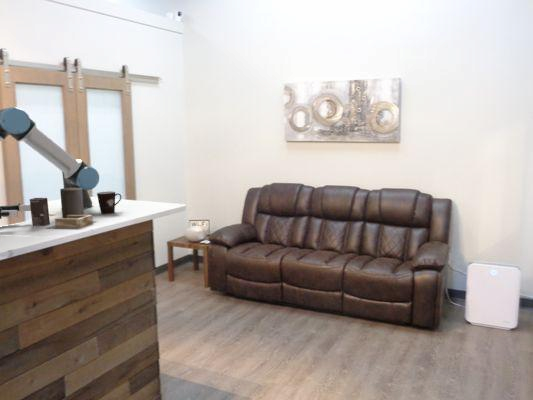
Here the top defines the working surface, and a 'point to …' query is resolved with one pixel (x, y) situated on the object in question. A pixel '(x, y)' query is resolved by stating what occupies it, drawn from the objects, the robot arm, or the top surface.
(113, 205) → the coffee mug
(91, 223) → the mat
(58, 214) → the top surface
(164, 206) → the top surface
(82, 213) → the pillar candle
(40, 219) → the box
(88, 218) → the wooden tray
